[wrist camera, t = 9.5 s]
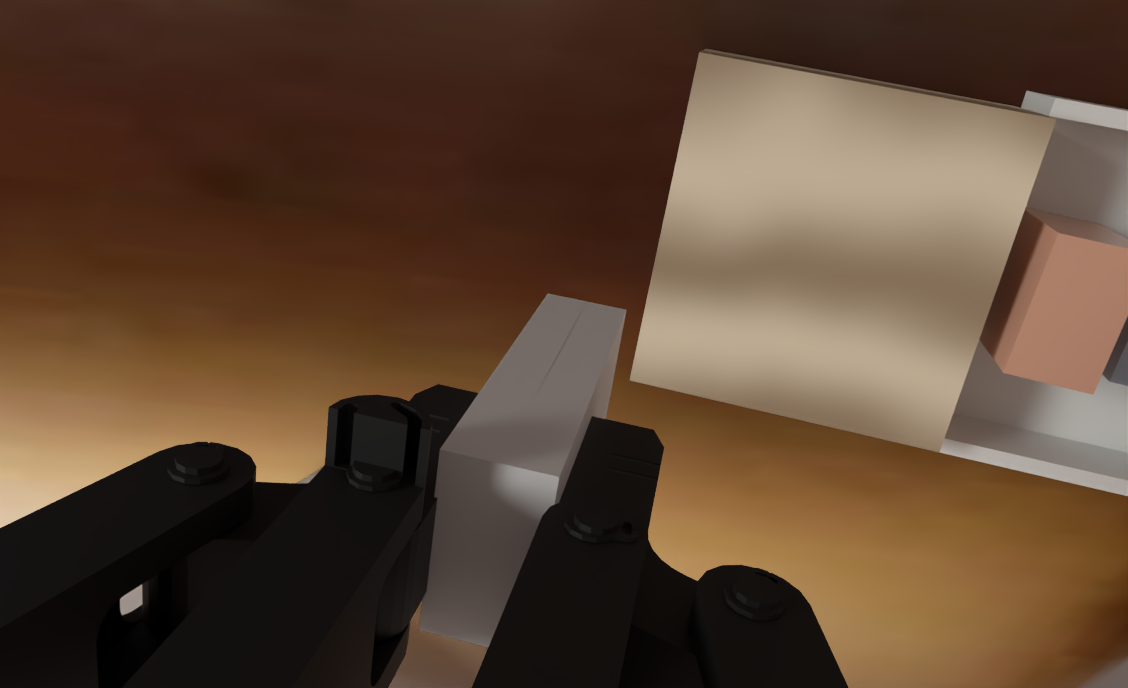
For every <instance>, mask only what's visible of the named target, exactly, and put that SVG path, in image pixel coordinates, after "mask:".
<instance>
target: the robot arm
mask: <svg viewBox="0 0 1128 688" xmlns="http://www.w3.org/2000/svg"><path fill="white" fill-rule="evenodd" d="M625 314H626V310H624V309H620V308H615V307H610V306H605V305H600V304H596V303H591V302H586V301H581V300H576V299H572V298H567V297H562V296H557V295H552V294H547V296H546V297H545V298H544V300H543V301H542V303H541V304H540V306H539V307H538V309H537V310H536V311H535V313H534V314H533V316H532V317H531V319H530V320H529V321H528V323H527V324H526V326H525V327H524V329H523V330H522V332H521V333H520V334H519V336H518V337H517V339H516V340H515V342H514V343H513V345H512V346H511V347H510V349H509V350H508V352H507V353H506V355H505V356H504V358H503V359H502V360H501V362H500V363H499V365H498V366H497V368H496V369H495V371H494V372H493V373H492V375H491V376H490V378H489V379H488V381H487V382H486V384H485V385H484V386H483V388H482V389H481V391H480V392H479V393H475V392H471V391H466V390H462V389H457V388H453V387H448V386H444V385H439V384H438V385H436V386H433V387H431V388H429V389H426V390H424V391H421V392H419V393H417V394H415V395H414V396H413V398H412V399H411V400H410V401H407V400H404V399H401V398H397V397H390V396H382V395H363V396H355V397H351V398H347V399H343V400H340V401H338V402H337V403H335V404H333V405H331V406H330V407H329V412H328V427H327V443H326V458H325V465H324V467H323V468H322V469H321V470H320V471H319V472H318V473H317V474H316V475H315V476H314V478H313V479H312V480H311V481H310V482H309V483H291V484H289V483H268V482H256V465H255V463H254V462H253V460H252V458H251V456H249V455H247V454H246V453H244V452H243V451H241V450H239V449H238V448H234V447H230V446H226V445H222V444H220V443H212V442H210V443H208V442H195V443H192V444H184V445H177V446H174V447H171V448H168V449H165V450H162V451H159V452H157V453H155V454H153V455H150V456H148V457H146V458H144V459H142V460H140V461H138V462H136V463H134V464H132V465H130V466H128V467H126V468H124V469H122V470H120V471H117V472H115V473H113V474H111V475H109V476H107V477H105V478H103V479H101V480H99V481H97V482H95V483H93V484H91V485H89V486H87V487H84V488H82V489H80V490H78V491H76V492H74V493H72V494H70V495H68V496H66V497H64V498H62V499H60V500H58V501H56V502H54V503H51V504H49V505H47V506H45V507H43V508H41V509H39V510H37V511H35V512H33V513H31V514H29V515H27V516H25V517H23V518H20V519H18V520H16V521H14V522H12V523H10V524H8V525H6V526H4V527H2V528H0V688H388V687H389V685H390V683H391V681H392V679H393V677H394V676H395V674H396V672H397V670H398V668H399V666H400V664H401V662H402V660H403V658H404V656H405V654H406V649H407V644H408V637H409V628H410V620H411V618H412V617H413V615H414V613H415V611H416V609H417V608H418V606H419V604H420V602H421V600H422V605H421V614H420V622H419V630H421V631H425V632H429V633H433V634H437V635H441V636H445V637H448V638H452V639H456V640H460V641H464V642H468V643H472V644H476V645H480V646H484V647H488V650H487V652H486V654H485V657H484V659H483V662H482V664H481V667H480V669H479V672H478V674H477V676H476V679H475V681H474V684H473V686H472V688H848V686H847V684H846V681H845V679H844V677H843V675H842V673H841V671H840V668H839V666H838V664H837V662H836V660H835V658H834V655H833V653H832V651H831V649H830V647H829V645H828V642H827V640H826V638H825V636H824V634H823V632H822V629H821V627H820V625H819V623H818V621H817V619H816V616H815V614H814V612H813V610H812V608H811V606H810V604H809V603H808V601H807V600H806V599H805V597H804V596H803V595H802V593H801V592H800V591H799V590H798V589H796V588H795V587H794V586H792V585H791V584H790V583H788V582H787V581H786V580H784V579H783V578H780V577H778V576H777V575H775V574H773V573H769V572H768V571H765V570H762V569H759V568H753V567H748V566H743V565H722V566H719V567H716V568H713V569H711V570H708V571H706V572H705V573H704V575H703V576H702V577H701V578H700V579H699V580H698V581H696V580H694V579H692V578H690V577H687V576H685V575H684V574H682V573H680V572H678V571H676V570H675V569H673V568H671V567H670V566H669V565H667V564H666V563H665V562H664V561H662V560H661V559H660V558H659V557H658V555H657V554H656V553H655V552H654V551H653V549H652V547H651V545H650V543H649V540H648V528H649V523H650V517H651V512H652V507H653V502H654V497H655V491H656V486H657V481H658V476H659V471H660V465H661V460H662V455H663V450H664V447H663V445H662V443H661V442H660V440H659V438H658V436H657V435H656V433H655V431H654V430H652V429H648V428H643V427H639V426H634V425H630V424H625V423H621V422H616V421H612V420H607V419H606V414H607V409H608V404H609V399H610V393H611V388H612V383H613V378H614V372H615V367H616V362H617V356H618V351H619V346H620V341H621V335H622V330H623V325H624V320H625ZM140 585H142V605H141V606H139V607H138V608H136V609H135V610H133V611H131V612H129V613H127V614H124V615H122V614H121V611H120V599H121V598H122V597H123V596H124V595H126V594H127V593H129V592H131V591H132V590H134V589H135V588H137V587H139V586H140Z"/></svg>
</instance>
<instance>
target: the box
mask: <svg viewBox="0 0 1128 688" xmlns="http://www.w3.org/2000/svg"><path fill="white" fill-rule="evenodd" d="M1021 108H1022V109H1026V110H1029V111H1032V112H1035V113H1039V114H1042V115H1045V116H1048V117H1052V118H1055V119H1057V120H1056V122H1055V125H1054V128H1053V131H1052V134H1051V137H1050V139H1049V142H1048V145H1047V148H1046V151H1045V154H1044V157H1043V159H1042V162H1041V165H1040V168H1039V171H1038V174H1037V176H1036V179H1035V182H1034V185H1033V188H1032V191H1031V194H1030V196H1029V199H1028V202H1027V205H1026V207H1028V208H1033V209H1037V210H1042V211H1046V212H1051V213H1055V214H1060V215H1064V216H1068V217H1073V218H1077V219H1082V220H1086V221H1091V222H1095V223H1100V224H1102V225H1104V226H1105V227H1107V228H1109V229H1111V230H1112V231H1114V232H1116V233H1118V234H1119V235H1121V236H1123V237H1125V238H1126V239H1128V109H1123V108H1117V107H1112V106H1107V105H1101V104H1096V103H1090V102H1085V101H1080V100H1074V99H1069V98H1063V97H1058V96H1052V95H1047V94H1042V93H1036V92H1031V91H1026V94H1025V97H1024V100H1023V103H1022V106H1021ZM940 453H945V454H949V455H953V456H957V457H962V458H966V459H970V460H975V461H979V462H983V463H988V464H992V465H996V466H1000V467H1005V468H1009V469H1013V470H1018V471H1022V472H1026V473H1030V474H1035V475H1039V476H1043V477H1048V478H1052V479H1056V480H1061V481H1065V482H1069V483H1073V484H1078V485H1082V486H1086V487H1091V488H1095V489H1099V490H1103V491H1108V492H1112V493H1116V494H1121V495H1125V496H1128V386H1125V385H1121V384H1117V383H1113V382H1109V381H1108V380H1107V379H1106V378H1105V377H1104V376H1103V375H1102V376H1101V378H1100V380H1099V383H1098V385H1097V387H1096V390H1095V392H1094V394H1093V395H1092V394H1088V393H1084V392H1080V391H1076V390H1072V389H1068V388H1063V387H1059V386H1055V385H1051V384H1047V383H1043V382H1039V381H1035V380H1031V379H1027V378H1022V377H1018V376H1014V375H1010V374H1006V373H1003V372H1002V370H1001V369H1000V368H999V366H998V365H997V363H996V362H995V361H994V359H993V358H992V356H991V355H990V354H989V352H988V351H987V350H986V348H985V347H984V345H983V344H982V343H981V341H980V340H979V341H978V344H977V347H976V350H975V353H974V356H973V359H972V361H971V364H970V367H969V370H968V373H967V376H966V378H965V381H964V384H963V387H962V390H961V393H960V395H959V398H958V401H957V404H956V407H955V410H954V413H953V415H952V418H951V421H950V424H949V427H948V430H947V432H946V435H945V438H944V441H943V444H942V447H941V450H940Z"/></svg>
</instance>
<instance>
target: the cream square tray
mask: <svg viewBox="0 0 1128 688" xmlns="http://www.w3.org/2000/svg"><path fill="white" fill-rule="evenodd" d="M1056 120H1057V119H1055V118H1052V117H1048V116H1045V115H1042V114H1039V113H1035V112H1032V111H1029V110H1026V109H1022V108H1019V107H1016V106H1011V105H1006V104H1000V103H995V102H989V101H984V100H979V99H973V98H968V97H963V96H957V95H952V94H947V93H941V92H936V91H931V90H925V89H920V88H914V87H909V86H904V85H898V84H893V83H888V82H882V81H877V80H872V79H866V78H861V77H856V76H850V75H845V74H839V73H834V72H829V71H823V70H818V69H813V68H807V67H802V66H797V65H791V64H786V63H780V62H775V61H770V60H764V59H759V58H754V57H748V56H743V55H738V54H732V53H727V52H722V51H716V50H711V49H705V50H703V51H701V52H699V56H698V61H697V66H696V70H695V75H694V80H693V84H692V89H691V94H690V99H689V103H688V108H687V113H686V117H685V122H684V127H683V132H682V136H681V141H680V146H679V150H678V155H677V160H676V165H675V169H674V174H673V179H672V183H671V188H670V193H669V197H668V202H667V207H666V212H665V216H664V221H663V226H662V230H661V235H660V240H659V245H658V249H657V254H656V259H655V263H654V268H653V273H652V277H651V282H650V287H649V292H648V296H647V301H646V306H645V310H644V315H643V320H642V325H641V329H640V334H639V339H638V343H637V348H636V353H635V358H634V362H633V367H632V372H631V376H630V380H631V381H635V382H639V383H644V384H648V385H652V386H656V387H661V388H665V389H669V390H674V391H678V392H682V393H686V394H691V395H695V396H699V397H704V398H708V399H712V400H717V401H721V402H725V403H729V404H734V405H738V406H742V407H747V408H751V409H755V410H760V411H764V412H768V413H772V414H777V415H781V416H785V417H790V418H794V419H798V420H802V421H807V422H811V423H815V424H820V425H824V426H828V427H833V428H837V429H841V430H845V431H850V432H854V433H858V434H863V435H867V436H871V437H875V438H880V439H884V440H888V441H893V442H897V443H901V444H906V445H910V446H914V447H918V448H923V449H927V450H931V451H936V452H940V450H941V447H942V444H943V441H944V438H945V435H946V432H947V430H948V427H949V424H950V421H951V418H952V415H953V413H954V410H955V407H956V404H957V401H958V398H959V395H960V393H961V390H962V387H963V384H964V381H965V378H966V376H967V373H968V370H969V367H970V364H971V361H972V359H973V356H974V353H975V350H976V347H977V344H978V341H979V339H980V336H981V333H982V330H983V327H984V324H985V322H986V319H987V316H988V313H989V310H990V307H991V304H992V302H993V299H994V296H995V293H996V290H997V287H998V285H999V282H1000V279H1001V276H1002V273H1003V270H1004V267H1005V265H1006V262H1007V259H1008V256H1009V253H1010V250H1011V248H1012V245H1013V242H1014V239H1015V236H1016V233H1017V231H1018V228H1019V225H1020V222H1021V219H1022V216H1023V213H1024V211H1025V208H1026V205H1027V202H1028V199H1029V196H1030V194H1031V191H1032V188H1033V185H1034V182H1035V179H1036V176H1037V174H1038V171H1039V168H1040V165H1041V162H1042V159H1043V157H1044V154H1045V151H1046V148H1047V145H1048V142H1049V139H1050V137H1051V134H1052V131H1053V128H1054V125H1055V122H1056Z"/></svg>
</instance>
